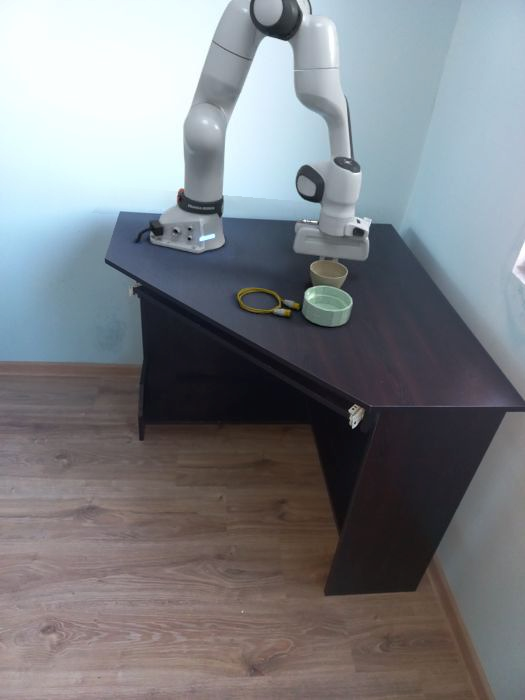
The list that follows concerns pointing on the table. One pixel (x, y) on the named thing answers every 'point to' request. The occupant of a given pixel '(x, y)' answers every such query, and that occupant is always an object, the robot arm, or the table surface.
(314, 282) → the flower pot
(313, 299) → the bowl
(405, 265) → the table surface
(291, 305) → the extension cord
